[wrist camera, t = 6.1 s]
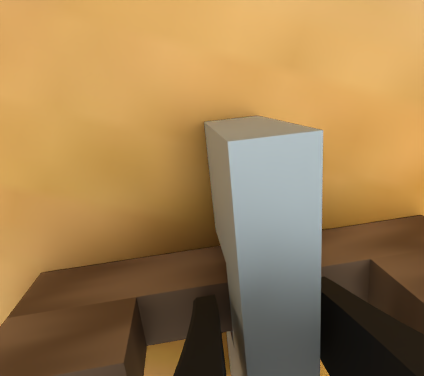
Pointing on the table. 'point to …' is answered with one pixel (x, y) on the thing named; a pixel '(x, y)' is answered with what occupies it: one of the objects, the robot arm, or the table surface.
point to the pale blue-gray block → (269, 241)
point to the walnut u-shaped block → (188, 300)
